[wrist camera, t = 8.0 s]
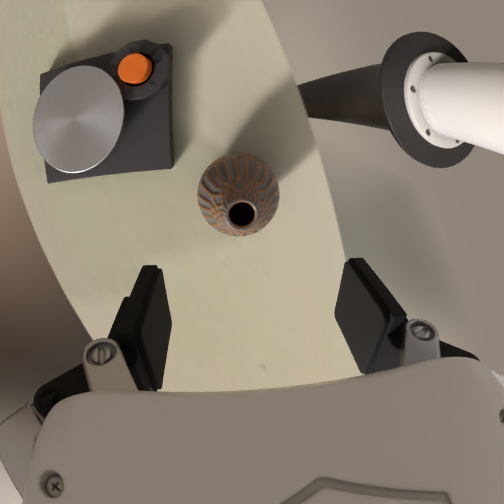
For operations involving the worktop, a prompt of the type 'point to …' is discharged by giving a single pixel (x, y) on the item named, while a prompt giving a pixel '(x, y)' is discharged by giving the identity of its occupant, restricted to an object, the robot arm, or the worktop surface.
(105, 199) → the worktop surface
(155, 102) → the scale
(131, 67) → the tare button
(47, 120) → the pan
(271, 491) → the robot arm
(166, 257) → the worktop surface
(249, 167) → the vase
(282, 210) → the worktop surface
